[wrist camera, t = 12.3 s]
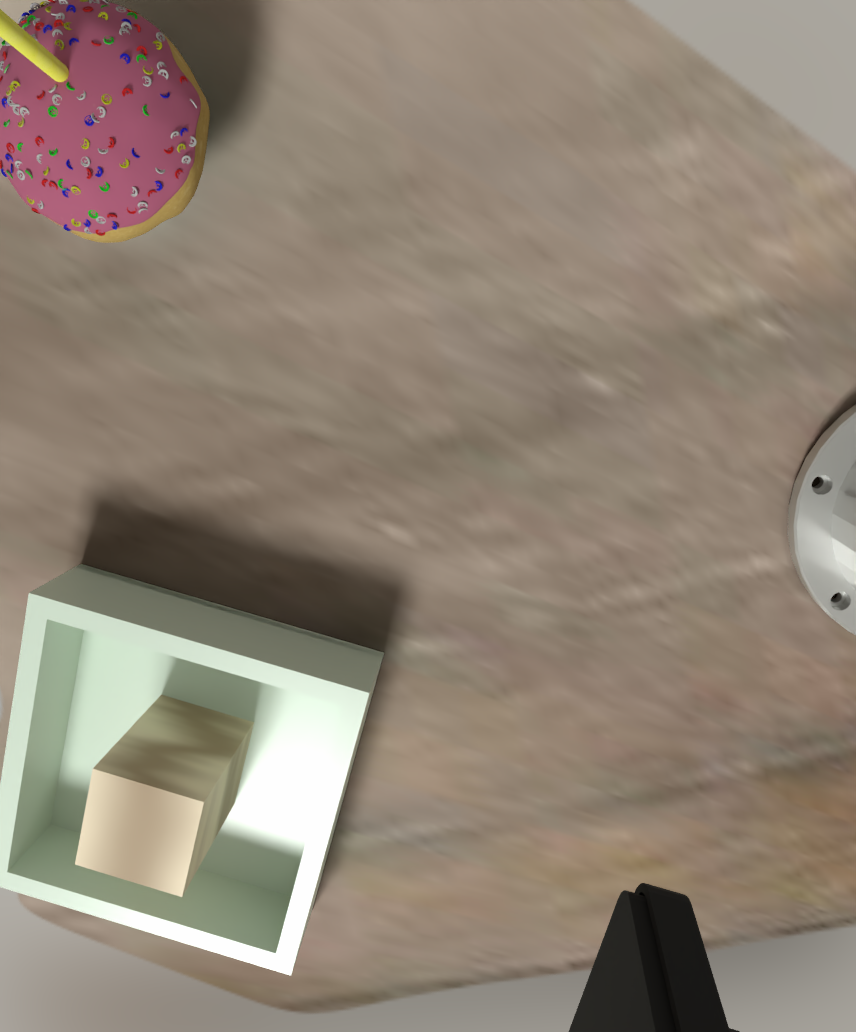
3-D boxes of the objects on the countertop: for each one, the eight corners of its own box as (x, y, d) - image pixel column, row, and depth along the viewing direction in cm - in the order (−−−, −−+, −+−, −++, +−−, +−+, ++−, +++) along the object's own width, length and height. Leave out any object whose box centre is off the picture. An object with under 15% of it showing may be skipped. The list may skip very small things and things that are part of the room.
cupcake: (38, 60, 34) (-200, -77, 23) (223, 25, 33) (73, -137, 22) (81, 263, 36) (-118, 233, 25) (258, 236, 35) (138, 191, 24)
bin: (384, 652, 39) (369, 693, 35) (312, 910, 43) (290, 975, 39) (80, 563, 40) (29, 592, 35) (37, 827, 44) (-15, 882, 39)
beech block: (254, 722, 40) (204, 802, 34) (234, 804, 42) (182, 897, 35) (161, 694, 40) (92, 768, 34) (144, 777, 42) (74, 864, 35)
